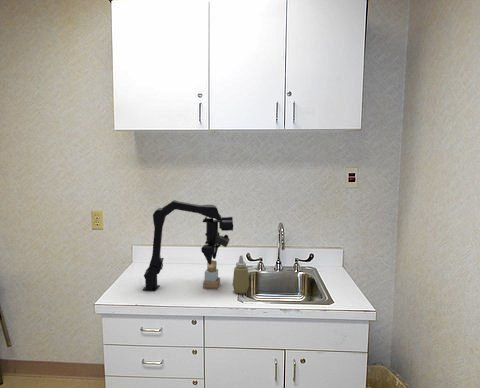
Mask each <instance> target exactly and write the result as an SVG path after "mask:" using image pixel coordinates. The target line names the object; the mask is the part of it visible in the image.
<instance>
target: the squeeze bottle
mask: <svg viewBox="0 0 480 388" xmlns="http://www.w3.org/2000/svg"><path fill="white" fill-rule="evenodd" d="M235 264H236V266H234V269H233V276H232V287H233V290H234V293H236V294H238V293H242V294H241V295H243V294H247V292H248V289H249V287H250V281H249V280H250V277H249V268H248V267H247V263H246V262H244V257H243V255H239V259H238V262H236V263H235Z"/></svg>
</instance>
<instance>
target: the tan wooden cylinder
mask: <svg viewBox="0 0 480 388" xmlns="http://www.w3.org/2000/svg"><path fill="white" fill-rule="evenodd" d="M206 262H207V261H206ZM206 264H207V265H206V267H207V268H206V270H207V271H208V272H215V271H216V269H217V264H218V263H217V260H214V259H212V262H211V265H210V264H208V262H207V263H206Z"/></svg>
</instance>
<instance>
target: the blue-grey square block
mask: <svg viewBox="0 0 480 388" xmlns="http://www.w3.org/2000/svg"><path fill="white" fill-rule="evenodd" d="M218 277H219V269H218V268H216V271H215V272H208V271H207V269H205V271H204V280H205V281H216V280H217V279H218Z"/></svg>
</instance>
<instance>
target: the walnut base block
mask: <svg viewBox="0 0 480 388" xmlns="http://www.w3.org/2000/svg"><path fill="white" fill-rule="evenodd" d="M202 284H203V285H202V289H203V290H212V291H213V290H218V289H219V287H220V286H221V277H220V276H218V279H217V280H216V281H205V279H204V280H203V283H202Z"/></svg>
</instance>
